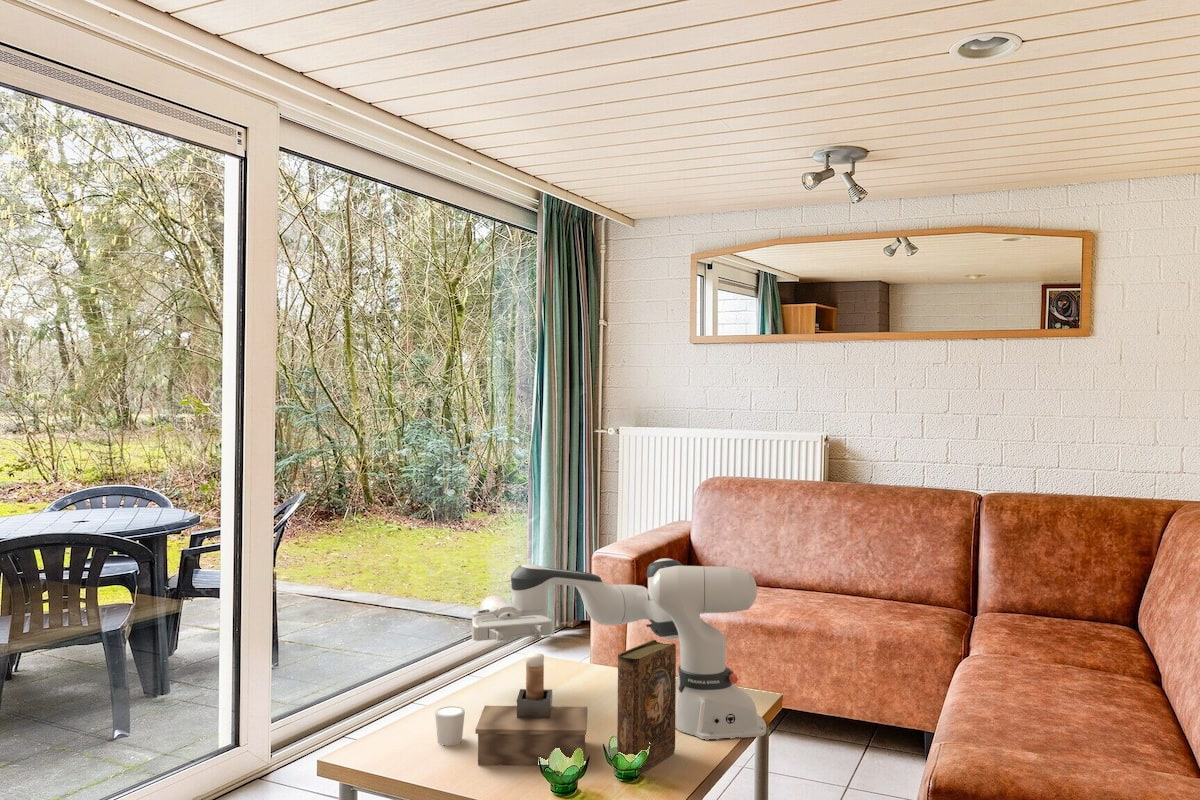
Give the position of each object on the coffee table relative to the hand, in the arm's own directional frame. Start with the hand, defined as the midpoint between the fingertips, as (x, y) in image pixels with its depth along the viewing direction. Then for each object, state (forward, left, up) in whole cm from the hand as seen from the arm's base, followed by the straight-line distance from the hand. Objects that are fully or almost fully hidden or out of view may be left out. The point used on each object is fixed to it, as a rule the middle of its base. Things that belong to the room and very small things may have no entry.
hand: (519, 635), depth 210 cm
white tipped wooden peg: (-5, +11, -14) cm, 19 cm away
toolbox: (-5, +15, -22) cm, 27 cm away
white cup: (+15, +8, -23) cm, 29 cm away
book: (-30, +19, -23) cm, 42 cm away
